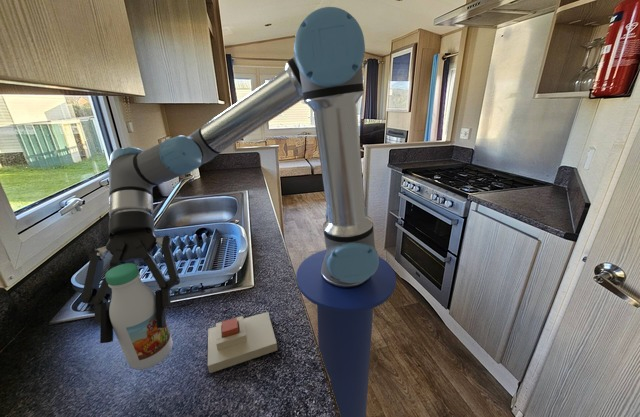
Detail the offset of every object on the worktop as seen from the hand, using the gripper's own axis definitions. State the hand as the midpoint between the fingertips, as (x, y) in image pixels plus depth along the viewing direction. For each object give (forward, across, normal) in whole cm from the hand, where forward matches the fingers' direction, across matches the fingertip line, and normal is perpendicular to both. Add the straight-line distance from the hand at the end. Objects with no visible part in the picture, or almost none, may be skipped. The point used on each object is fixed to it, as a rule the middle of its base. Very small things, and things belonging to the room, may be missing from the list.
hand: (135, 334), depth 46 cm
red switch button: (+4, -15, -10) cm, 18 cm away
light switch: (+7, -17, -12) cm, 22 cm away
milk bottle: (+4, 0, -9) cm, 9 cm away
